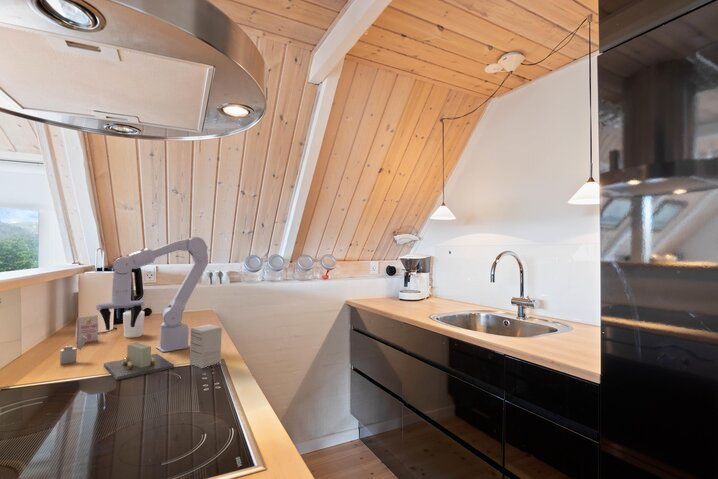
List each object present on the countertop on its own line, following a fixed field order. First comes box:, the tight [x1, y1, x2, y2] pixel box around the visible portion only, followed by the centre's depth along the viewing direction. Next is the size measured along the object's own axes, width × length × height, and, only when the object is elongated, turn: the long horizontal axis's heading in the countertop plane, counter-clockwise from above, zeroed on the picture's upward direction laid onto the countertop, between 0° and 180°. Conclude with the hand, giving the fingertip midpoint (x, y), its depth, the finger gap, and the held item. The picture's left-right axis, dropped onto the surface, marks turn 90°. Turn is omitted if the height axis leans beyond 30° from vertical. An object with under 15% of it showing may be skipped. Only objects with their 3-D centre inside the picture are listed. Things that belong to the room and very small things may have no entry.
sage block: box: [126, 342, 152, 368], centre depth 120 cm, size 3×8×6 cm, turn 62°
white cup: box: [122, 310, 145, 339], centre depth 157 cm, size 8×8×10 cm
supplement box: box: [189, 323, 223, 368], centre depth 124 cm, size 7×7×13 cm
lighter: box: [59, 336, 88, 365], centre depth 123 cm, size 7×2×8 cm, turn 136°
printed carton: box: [74, 315, 99, 345], centre depth 147 cm, size 4×7×10 cm, turn 136°
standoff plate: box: [103, 353, 175, 381], centre depth 120 cm, size 16×16×3 cm
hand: (120, 328), depth 132 cm, fingers open, 7 cm apart
